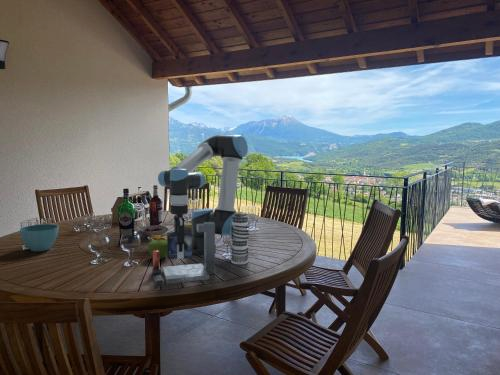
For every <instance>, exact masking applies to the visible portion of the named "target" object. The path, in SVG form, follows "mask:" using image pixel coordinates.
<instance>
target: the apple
mask: <svg viewBox="0 0 500 375" xmlns="http://www.w3.org/2000/svg"><path fill="white" fill-rule="evenodd" d="M147 248H148V252H149V254H150V256H151V257H152V258H153V251H154V250H159V255H160V260H163V259H164V258H165V257H166V256H167V239H155V240H150V242H149V243H148V245H147Z"/></svg>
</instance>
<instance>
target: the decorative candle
mask: <svg viewBox="0 0 500 375" xmlns="http://www.w3.org/2000/svg"><path fill="white" fill-rule="evenodd" d="M232 216H233V221H232V226H231V232H232V233H231V236H230V238H231V240H232V243H231V248H230V249H231V254H230V256H231V258H230V261H231V263H232V264H235V265H246V264H248V262H249V261H248V260H249V246H248V240H249V235H250V234H249V232H250V230H249V228H250V226H249V225H250V223H249V219H248V217H249V215H248V214H247V213H246V212H244V211H236V212H235V213H234V214H233V215H232Z"/></svg>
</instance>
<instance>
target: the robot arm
mask: <svg viewBox="0 0 500 375" xmlns="http://www.w3.org/2000/svg"><path fill="white" fill-rule="evenodd" d="M248 151H249V150H248V142H247V140H246V138H245V136H243V135H240V134H217V135H214V136H211V137H209V138H207V139H205V140H204V141H202V142H201V143H200V144H199V145H198V146H197V148H196V149H195V150H193V152H191V153H190V154H189V155H187V156H186V157H185V158H183V159H182V160H181V161H179V163H177V164H176V165H175V166H173V167H172V168H171V169H169V170H162V171H160V172H159V173H158V175H157V182H158V184H159V185H160V186H162V187H166V188H169V191H170V192H169V193H170V194H169V197H168V200H170V201H169V203H170V206H169V210H170V211H169V213H170V214H171V215H174V216H173V221H174V222H173V224H174V231H173V232H177V240H178V242H177V243H176V245H177V260H182V259H183V260H184V259H185V258H184V243H185V242H184V232H185V217H184V215H186V214H188V213H189V205H188V203H189V190H194V189H196V190H197V189H201V188H202V187H204V186H205V184H206V177H205V175H204V173H202V172H200V171H195V170H196V169H198V167H200V166H201V165H203V163H204V162H206V161H208V160H211V159H212V158H214V157H220V160H222V168H221V170H222V171H221V176H220V185H219V193H218V194H219V195H218V201H217V202H218V203H217V207H215V208H201V209H195V210H193V211H192V213H191V218H190V219H191V233H192V255H193V254H194V255H204V232H197V224H204V222H214V223H215V235H220V236H223V237H224V236H225V237H226V236H229V237H231V233H232V232H231V226H232V221H233V216H232V215H233V214H234V213H235V212H237V210H236V208H235V202H236V192H237V185H238V176H239V167H240V163H242V162H243V158H245V157H247V155H248ZM216 251H217V244H216V243H215V252H216Z"/></svg>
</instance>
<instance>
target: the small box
mask: <svg viewBox="0 0 500 375" xmlns="http://www.w3.org/2000/svg"><path fill="white" fill-rule="evenodd" d="M166 234H167V236H166V241H167V255H166V256H167V257H166V258H167V260H176V259H177V245H176V243H177V242H178V240H177V232H174V231H173V232H167V233H166ZM184 242H185V243H184V259H192V258H193V253H192V231H184ZM177 260H178V259H177Z"/></svg>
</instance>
